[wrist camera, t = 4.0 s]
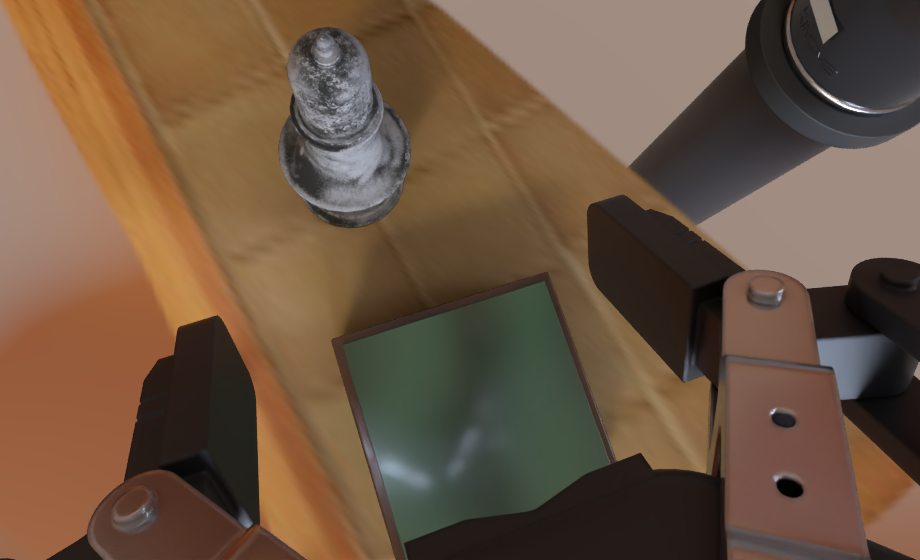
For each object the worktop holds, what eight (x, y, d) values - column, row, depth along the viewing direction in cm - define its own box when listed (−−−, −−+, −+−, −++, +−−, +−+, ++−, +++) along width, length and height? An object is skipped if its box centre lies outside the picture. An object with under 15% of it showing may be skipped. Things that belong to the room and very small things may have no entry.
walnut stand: (531, 285, 30) (550, 269, 26) (601, 481, 28) (631, 492, 25) (338, 346, 28) (329, 338, 25) (401, 557, 27) (401, 581, 23)
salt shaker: (421, 140, 31) (436, -20, 19) (393, 245, 30) (392, 144, 18) (310, 111, 30) (256, -68, 19) (277, 217, 29) (197, 95, 18)
